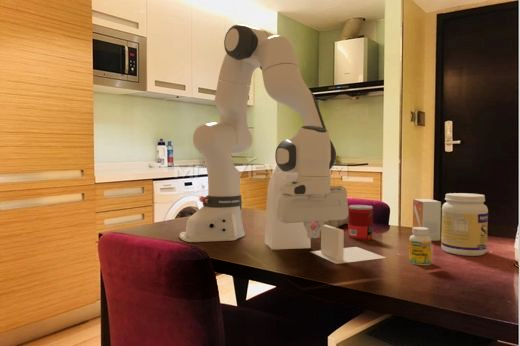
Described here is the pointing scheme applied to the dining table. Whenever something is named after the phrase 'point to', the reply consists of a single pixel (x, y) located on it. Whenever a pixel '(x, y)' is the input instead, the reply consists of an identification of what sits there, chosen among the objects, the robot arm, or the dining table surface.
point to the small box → (427, 216)
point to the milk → (275, 230)
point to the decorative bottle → (336, 222)
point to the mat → (351, 255)
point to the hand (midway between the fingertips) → (313, 237)
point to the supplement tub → (464, 224)
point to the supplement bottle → (420, 246)
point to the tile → (332, 242)
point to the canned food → (360, 222)
